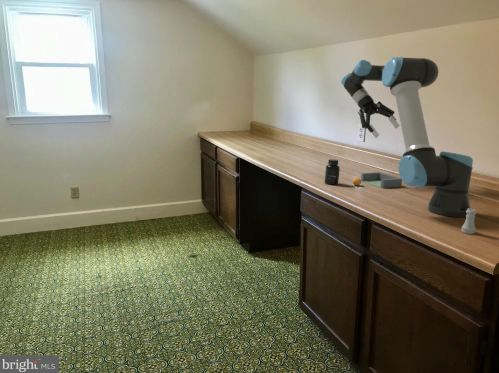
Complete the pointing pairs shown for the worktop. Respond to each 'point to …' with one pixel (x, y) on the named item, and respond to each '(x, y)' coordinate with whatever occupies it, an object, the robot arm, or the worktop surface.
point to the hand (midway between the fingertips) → (387, 131)
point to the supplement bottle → (332, 172)
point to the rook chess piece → (469, 222)
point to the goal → (381, 180)
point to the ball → (356, 181)
